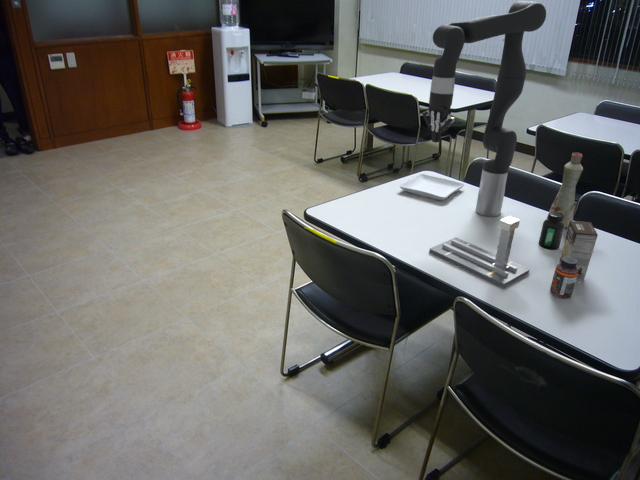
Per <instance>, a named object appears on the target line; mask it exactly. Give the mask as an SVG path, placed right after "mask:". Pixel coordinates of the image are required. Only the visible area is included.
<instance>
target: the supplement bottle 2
mask: <svg viewBox="0 0 640 480" xmlns="http://www.w3.org/2000/svg"><path fill="white" fill-rule="evenodd" d="M576 265H577V260H576V259H574V258H571V257H563V258H562V261H561V263H559V262H558V263H557V264H556V266H555V270H554V273H553V277H552V282H551V285H550V289H549V290H550V293H551V294H552V295H553V296H555V297H557V298H561V299H568V298H571V296H572V295H573V291H574V288H575V285H576V281H577V280H576V278H577V275H578V268H577V267H576Z"/></svg>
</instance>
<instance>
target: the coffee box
mask: <svg viewBox="0 0 640 480" xmlns="http://www.w3.org/2000/svg"><path fill="white" fill-rule="evenodd" d="M597 238H598V233H597V230H596V229H595V227H594V226H593V223H592V222H591V221H590V222H589V221H580V220H579V221H578V220H573V221H570V222H569V225H568V227H567V230H566V234H565V237H564V242H563V245H562V249H561V253H560V255H559V261H558V264H559V263H561V261H562V258H563V257H571V258H574V259H576V260H577V265H576V267H577V268H578V275H577V278H576V281H579V282H585V278H586V274H587V272H588V269H589V266H590V261H591V258H592V256H593V252H594V249H595V246H596V242H597Z"/></svg>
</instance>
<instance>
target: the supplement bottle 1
mask: <svg viewBox="0 0 640 480" xmlns="http://www.w3.org/2000/svg"><path fill="white" fill-rule="evenodd" d="M548 214H549V215H548ZM548 214H547V216H548V219H547V218H546V219H544V221H543V222H542V226H541V230H540V234H539V238H538V246H539V247H540V248H542V249H545V250H547V251H556V250H558V249H560V247H561V243H562V239H563V236H564V232H565V224H564V223H563V222H562V221H563V220H564V214H562V213H560V212H549V211H548Z"/></svg>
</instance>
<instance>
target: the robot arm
mask: <svg viewBox="0 0 640 480" xmlns="http://www.w3.org/2000/svg"><path fill="white" fill-rule="evenodd" d="M546 18H547V10H546V7H545V6H544V5H543V4H542V3H540V2H538V1H532V0H531V1H528V0H517V1H515V2H514V3H512V5H511V6H510V7H509V10H508V12H507V13H504V14H502V13H501V14H493V15H486V16H485V15H484V16H479V17H475V18H472V19H469V20H466V21H457V22H451V23H445V24H441V25H439V26H438V27H437V28H436V29H435V30H434V32H433V34H432V42H433V44H434V45H435V46H436V47H437V48H440V49H443V53H442V55H441V56H439V57H436V59H435V60H434V62H433V63H434V65H433V72H432V78H431V84H430V91H429V99H428V103H429V106H428V108H427V110H426V111H423V112H421V113H422V117H423V119H424V121H425V124H426V126H427V129H430V130H431V131H432V132H431V142H433V143H435V144H436V143H439V142H440V141H441V139H442V133H443V132H446V131H447V130H449V129H450V127H452V125H453V124H454V123H455V122H456V121H457V119H456V117H453V116H452V110H451V107H452V105H453V99H454V98H453V97H454V93H455V92H454V90H455V84H456V83H455V80H456V79H455V77H456V72H457V63H458V61H459V59H460V56H461V54H462V52H463V49H464V47H465V44H473V43H477V42H481V41H485V40H488V39H491V38H495V37H499V36H504V39H503V40H504V41H503V48H502V53H501V61H500V63H499V64H500V65H499V69H498V74H497V80H496V82H495V83H496V84H495V90H494V94H493V95H494V96H493V100H492V104H491V107H490V112H489V116H488V119H487V122H486V126H485V129H484V131H483V132H484V133H483V136H482V137H483V138H482V146H483V148H484V149H485V150H488V151H490V152H493V153H495V157H494V158H493V159H492V158H491V159H487V160H485V161H484V162H483V165H482V170H481V171H482V172H481V176H480V183H479V189H478V193H477V194H478V195H477V199H476V205H475V206H476V207H475V212H476V213H477V214H479V215H482V216H484V217H499V215H500V214H501V212H502V208H503V202H504V197H505V192H506V184H507V179H508V173H509V169H510V167H511V165H512V162H513V159H514V154H515V151H516V147H517V143H518V142H517V141H518V138H517V137H518V136H517V133H516V132H515V131H514V130H512V129H509V128H506V127H503V123H504V120H505V116H506V114H507V113H508V111H509V110H510V108H511V107H512V106H513V104H515V103H516V101H518V99H519V98H520V96H521V95H522V92H523V89H524V86H525V83H526V76H527V66H526V62H525V59H524V58H525V57H524V52H523V40H524V39H523V38H524V33H525V32H526V33H527V32H528V33H529V32H534V31H535V32H536V31H537V30H539V29H540V28H541V27H542V26H543V25H544V23H545V22H546V20H547V19H546Z"/></svg>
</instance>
